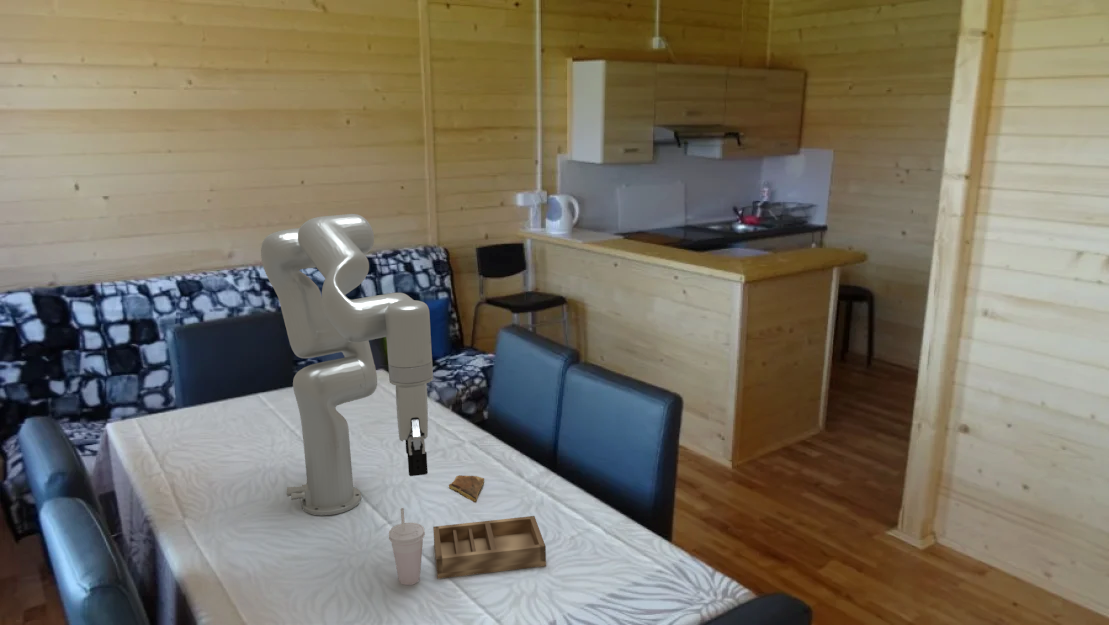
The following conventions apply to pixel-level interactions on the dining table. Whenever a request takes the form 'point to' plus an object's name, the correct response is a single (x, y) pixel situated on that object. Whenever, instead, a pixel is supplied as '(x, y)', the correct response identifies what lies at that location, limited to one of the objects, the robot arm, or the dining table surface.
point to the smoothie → (407, 550)
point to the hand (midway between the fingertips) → (416, 463)
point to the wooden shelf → (488, 547)
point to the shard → (467, 486)
